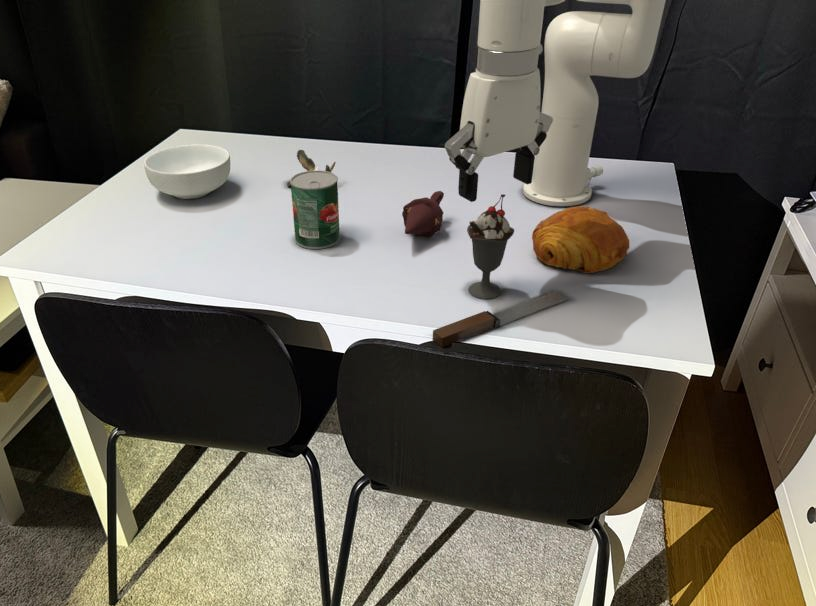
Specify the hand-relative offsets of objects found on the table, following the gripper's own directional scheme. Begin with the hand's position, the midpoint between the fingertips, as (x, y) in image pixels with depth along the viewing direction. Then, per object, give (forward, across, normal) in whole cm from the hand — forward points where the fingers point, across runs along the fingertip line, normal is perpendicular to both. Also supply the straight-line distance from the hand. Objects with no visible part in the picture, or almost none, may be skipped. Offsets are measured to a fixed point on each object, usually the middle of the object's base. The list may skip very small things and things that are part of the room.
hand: (495, 189), depth 99 cm
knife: (+16, +3, +8) cm, 18 cm away
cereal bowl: (+16, +25, -62) cm, 69 cm away
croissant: (+17, -19, 0) cm, 26 cm away
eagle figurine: (+17, +4, -51) cm, 54 cm away
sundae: (+16, +1, 0) cm, 16 cm away
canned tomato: (+16, +14, -29) cm, 36 cm away
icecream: (+16, -2, -20) cm, 26 cm away
